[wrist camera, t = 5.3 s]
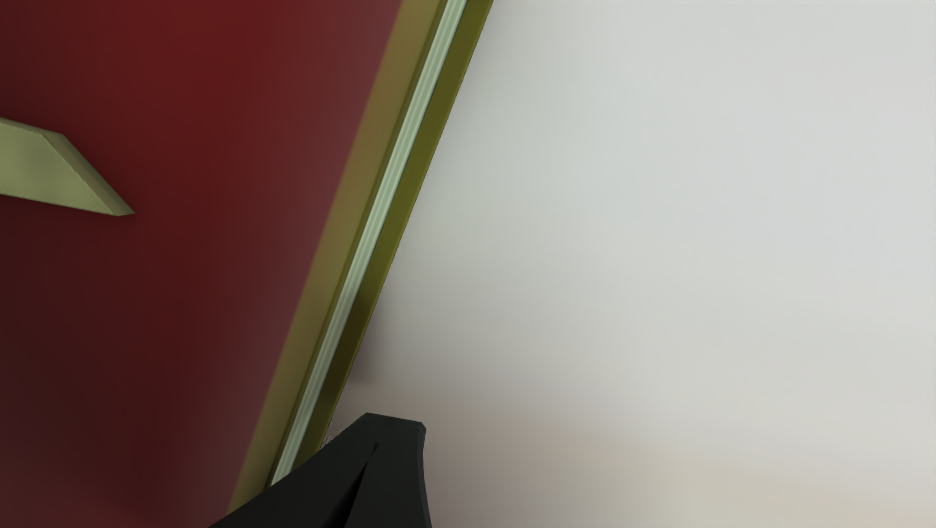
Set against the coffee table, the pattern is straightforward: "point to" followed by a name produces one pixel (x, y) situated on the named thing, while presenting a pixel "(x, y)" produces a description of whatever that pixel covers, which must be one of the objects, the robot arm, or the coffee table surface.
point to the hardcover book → (199, 237)
